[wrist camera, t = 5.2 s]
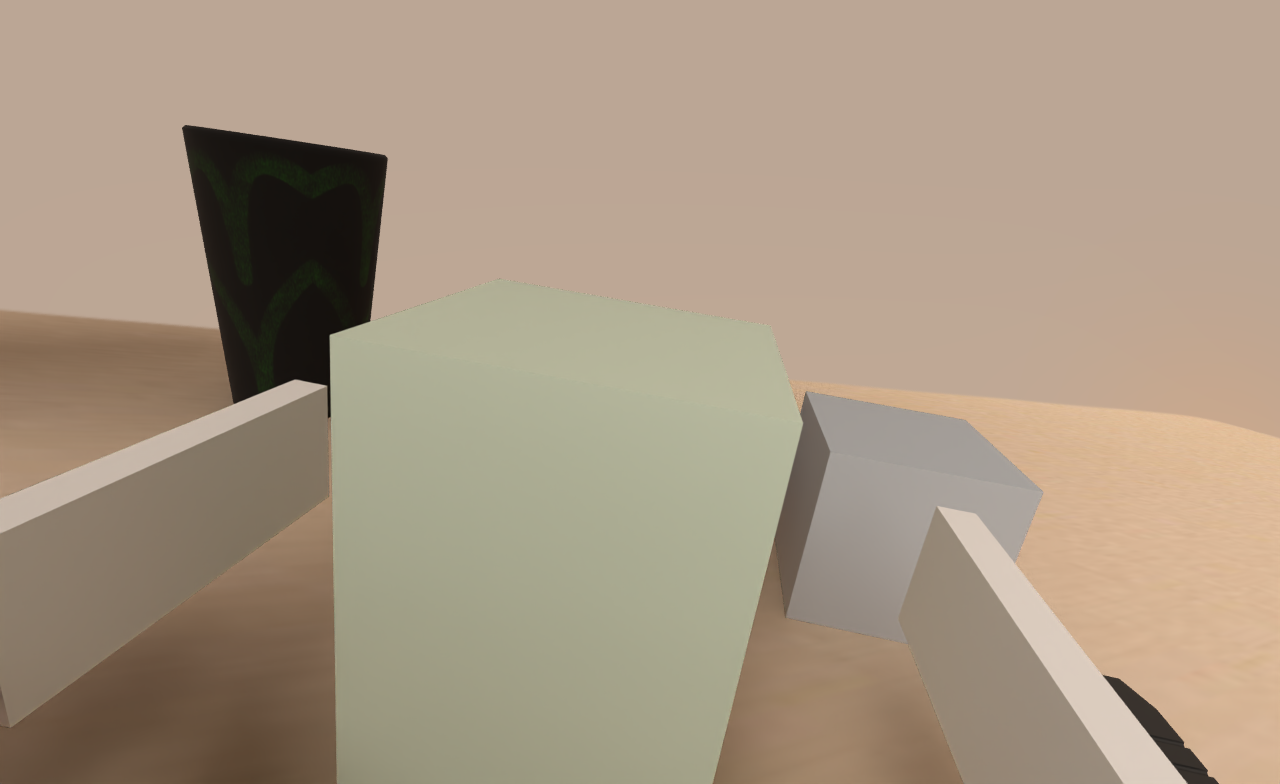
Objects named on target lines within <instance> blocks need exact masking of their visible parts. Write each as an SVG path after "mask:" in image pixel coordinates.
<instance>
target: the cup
mask: <svg viewBox="0 0 1280 784" xmlns="http://www.w3.org/2000/svg"><path fill="white" fill-rule="evenodd" d="M182 130H183V135H184V141H185V146H186V151H187V156H188V162H189V168H190V173H191V178H192V183H193V189H194V193H195V200H196V205H197V210H198V216H199V221H200V226H201V232H202V236H203V242H204V248H205V253H206V258H207V264H208V269H209V274H210V280H211V285H212V290H213V295H214V301H215V306H216V312H217V317H218V322H219V328H220V333H221V338H222V344H223V349H224V354H225V360H226V365H227V370H228V376H229V381H230V386H231V392H232V397H233V402H234V404H236V403H238V402H241V401H243V400H246V399H248V398H251V397H253V396H256V395H258V394H260V393H263V392H265V391H268V390H270V389H273V388H275V387H278V386H280V385H283V384H285V383H288V382H290V381H293V380H300V381H305V382H310V383H315V384H320V385H325V386H327V406H328V417H331V384H330V335H332V334H335V333H338V332H341V331H344V330H347V329H350V328H353V327H356V326H359V325H362V324H365V323H368V322H370V318H371V309H372V299H373V291H374V280H375V272H376V263H377V253H378V244H379V235H380V225H381V216H382V207H383V197H384V188H385V178H386V169H387V157H386V156H385V155H381V154H375V153H369V152H362V151H357V150H350V149H344V148H337V147H331V146H325V145H318V144H311V143H305V142H299V141H292V140H286V139H278V138H272V137H266V136H259V135H252V134H245V133H239V132H232V131H225V130H217V129H210V128H204V127H196V126H189V125H185V126H184V127H183V128H182Z"/></svg>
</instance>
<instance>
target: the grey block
mask: <svg viewBox="0 0 1280 784" xmlns="http://www.w3.org/2000/svg"><path fill="white" fill-rule="evenodd" d="M800 415H801V418H802V421H803V426H802V430H801V434H800V438H799V442H798V446H797V450H796V454H795V458H794V462H793V466H792V470H791V474H790V478H789V482H788V486H787V490H786V494H785V498H784V502H783V506H782V510H781V514H780V518H779V522H778V526H777V530H776V534H775V543H776V550H777V558H778V565H779V572H780V580H781V587H782V594H783V602H784V609H785V616H786V618H789V619H794V620H799V621H803V622H808V623H813V624H817V625H822V626H827V627H831V628H836V629H841V630H845V631H850V632H854V633H859V634H864V635H868V636H873V637H878V638H882V639H887V640H892V641H896V642H901V643H906V644H908V643H907V640H906V638H905V635H904V633H903V630H902V628H901V625H900V623H899V620H898V617H899V614H900V611H901V608H902V605H903V602H904V599H905V596H906V594H907V591H908V588H909V585H910V582H911V579H912V576H913V573H914V570H915V567H916V564H917V562H918V559H919V556H920V553H921V550H922V547H923V544H924V541H925V538H926V535H927V532H928V530H929V527H930V524H931V521H932V518H933V515H934V512H935V509H936V506H940V507H945V508H950V509H955V510H960V511H965V512H970V513H975V514H977V516H978V517H979V518H980V519H981V521H982V522H983V523H984V525H985V526H986V527H987V528H988V530H989V531H990V532H991V534H992V535H993V536H994V537H995V539H996V540H997V541H998V542H999V544H1000V545H1001V546H1002V548H1003V549H1004V550H1005V551H1006V553H1007V554H1008V555H1009V557H1010V558H1011V559H1012V560H1013V562H1014V563H1015V562H1016V559H1017V557H1018V554H1019V552H1020V549H1021V547H1022V544H1023V542H1024V539H1025V537H1026V534H1027V532H1028V529H1029V527H1030V525H1031V522H1032V520H1033V517H1034V515H1035V512H1036V510H1037V507H1038V505H1039V502H1040V500H1041V497H1042V495H1043V491H1042V490H1041V489H1040V488H1039V487H1038V486H1036V485H1035V484H1034V483H1033V482H1032V481H1031V480H1030V479H1029V478H1028V477H1027V476H1026V475H1025V474H1023V473H1022V472H1021V471H1020V470H1019V469H1018V468H1017V467H1016V466H1015V465H1014V464H1013V463H1011V462H1010V461H1009V460H1008V459H1007V458H1006V457H1005V456H1004V455H1003V454H1002V453H1001V452H1000V451H998V450H997V449H996V448H995V447H994V446H993V445H992V444H991V443H990V442H989V441H988V440H987V439H985V438H984V437H983V436H982V435H981V434H980V433H979V432H978V431H977V430H976V429H975V428H973V427H972V426H971V425H970V424H969V423H968V422H967V421H966V420H962V419H957V418H951V417H946V416H940V415H935V414H929V413H924V412H918V411H912V410H907V409H901V408H896V407H890V406H885V405H879V404H874V403H868V402H863V401H857V400H852V399H846V398H841V397H835V396H830V395H824V394H819V393H813V392H807V391H806V393H805V397H804V401H803V405H802V409H801V413H800Z"/></svg>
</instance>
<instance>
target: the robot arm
mask: <svg viewBox="0 0 1280 784" xmlns="http://www.w3.org/2000/svg"><path fill="white" fill-rule="evenodd" d="M327 497H329V464H328V406H327V386H325V385H320V384H315V383H310V382H305V381H300V380H293V381H290V382H288V383H285V384H283V385H280V386H278V387H275V388H273V389H270V390H268V391H265V392H263V393H260V394H258V395H256V396H253V397H251V398H248V399H246V400H243V401H241V402H238V403H236V404H233V405H231V406H228V407H226V408H223V409H221V410H218V411H216V412H213V413H211V414H208V415H206V416H204V417H201V418H199V419H196V420H194V421H191V422H189V423H186V424H184V425H181V426H179V427H176V428H174V429H171V430H169V431H166V432H164V433H161V434H159V435H156V436H154V437H152V438H149V439H147V440H144V441H142V442H139V443H137V444H134V445H132V446H129V447H127V448H124V449H122V450H119V451H117V452H114V453H112V454H109V455H107V456H104V457H102V458H100V459H97V460H95V461H92V462H90V463H87V464H85V465H82V466H80V467H77V468H75V469H72V470H70V471H67V472H65V473H62V474H60V475H57V476H55V477H52V478H50V479H47V480H45V481H42V482H40V483H37V484H35V485H32V486H30V487H28V488H25V489H22V490H20V491H17V492H15V493H12V494H10V495H8V496H5V497H3V498H0V725H1V726H4V727H8V728H11V727H13V726H14V725H15V724H17V723H18V722H20V721H21V720H22V719H24V718H25V717H26V716H28V715H29V714H31V713H32V712H33V711H35V710H36V709H37V708H39V707H40V706H42V705H43V704H44V703H46V702H47V701H48V700H50V699H51V698H53V697H54V696H55V695H57V694H58V693H59V692H61V691H62V690H64V689H65V688H66V687H68V686H69V685H70V684H72V683H73V682H75V681H76V680H77V679H79V678H80V677H81V676H83V675H84V674H86V673H87V672H88V671H90V670H91V669H92V668H94V667H95V666H97V665H98V664H99V663H101V662H102V661H103V660H105V659H106V658H108V657H109V656H110V655H112V654H113V653H114V652H116V651H117V650H119V649H120V648H121V647H123V646H124V645H125V644H127V643H128V642H130V641H131V640H132V639H134V638H135V637H136V636H138V635H139V634H140V633H142V632H143V631H145V630H146V629H147V628H149V627H150V626H151V625H153V624H154V623H156V622H157V621H158V620H160V619H161V618H162V617H164V616H165V615H167V614H168V613H169V612H171V611H172V610H173V609H175V608H176V607H178V606H179V605H180V604H182V603H183V602H184V601H186V600H187V599H189V598H190V597H191V596H193V595H194V594H195V593H197V592H198V591H200V590H201V589H202V588H204V587H205V586H206V585H208V584H209V583H211V582H212V581H213V580H215V579H216V578H217V577H219V576H220V575H222V574H223V573H224V572H226V571H227V570H228V569H230V568H231V567H233V566H234V565H235V564H237V563H238V562H239V561H241V560H242V559H244V558H245V557H246V556H248V555H249V554H250V553H252V552H253V551H255V550H256V549H257V548H259V547H260V546H261V545H263V544H264V543H266V542H267V541H268V540H270V539H271V538H272V537H274V536H275V535H277V534H278V533H279V532H281V531H282V530H283V529H285V528H286V527H288V526H289V525H290V524H292V523H293V522H294V521H296V520H297V519H299V518H300V517H301V516H303V515H304V514H305V513H307V512H308V511H310V510H311V509H312V508H314V507H315V506H316V505H318V504H319V503H321V502H322V501H323V500H325V499H326V498H327ZM898 620H899V623H900V625H901V628H902V630H903V633H904V635H905V638H906V640H907V643H908V645H909V648H910V650H911V653H912V655H913V658H914V660H915V663H916V665H917V668H918V670H919V673H920V675H921V678H922V680H923V683H924V685H925V688H926V690H927V693H928V695H929V698H930V701H931V703H932V706H933V708H934V711H935V713H936V716H937V718H938V721H939V723H940V726H941V728H942V731H943V733H944V736H945V738H946V741H947V743H948V746H949V748H950V751H951V753H952V756H953V758H954V761H955V763H956V766H957V768H958V771H959V773H960V776H961V778H962V781H963V783H964V784H1219V783H1218V782H1217V781H1216V780H1215V779H1214V778H1213V777H1209V776H1208V774H1207V771H1208V770H1207V769H1206V768H1205V767H1204V765H1203V764H1202V763H1201V762H1200V761H1199V759H1198V758H1197V757H1196V756H1195V755H1194V753H1193V752H1192V751H1191V750H1190V749H1188V748H1185V747H1184V741H1183V740H1182V739H1181V738H1180V737H1179V736H1178V734H1177V733H1176V732H1175V731H1174V730H1173V728H1172V727H1171V726H1170V725H1169V724H1168V722H1167V721H1166V720H1165V719H1164V718H1163V716H1162V715H1161V714H1160V713H1159V712H1158V710H1157V709H1156V708H1154V707H1153V706H1152V705H1151V704H1149V703H1148V702H1147V701H1146V700H1145V699H1143V698H1142V697H1141V696H1140V695H1138V694H1137V693H1136V692H1135V691H1133V690H1132V689H1131V688H1130V687H1129V686H1127V685H1126V684H1125V683H1124V682H1122V681H1121V680H1120V679H1118V678H1114V677H1109V676H1104V675H1102V674H1101V673H1100V671H1099V670H1098V669H1097V668H1096V666H1095V665H1094V664H1093V663H1092V661H1091V660H1090V659H1089V657H1088V656H1087V655H1086V654H1085V652H1084V651H1083V650H1082V648H1081V647H1080V646H1079V645H1078V643H1077V642H1076V641H1075V640H1074V638H1073V637H1072V636H1071V634H1070V633H1069V632H1068V631H1067V629H1066V628H1065V627H1064V625H1063V624H1062V623H1061V622H1060V620H1059V619H1058V618H1057V617H1056V615H1055V614H1054V613H1053V611H1052V610H1051V609H1050V608H1049V606H1048V605H1047V604H1046V602H1045V601H1044V600H1043V599H1042V597H1041V596H1040V595H1039V594H1038V592H1037V591H1036V590H1035V588H1034V587H1033V586H1032V585H1031V583H1030V582H1029V581H1028V579H1027V578H1026V577H1025V576H1024V574H1023V573H1022V572H1021V571H1020V569H1019V568H1018V567H1017V565H1016V564H1015V563H1014V562H1013V560H1012V559H1011V558H1010V557H1009V555H1008V554H1007V553H1006V551H1005V550H1004V549H1003V548H1002V546H1001V545H1000V544H999V542H998V541H997V540H996V539H995V537H994V536H993V535H992V534H991V532H990V531H989V530H988V528H987V527H986V526H985V525H984V523H983V522H982V521H981V519H980V518H979V517H978V516H977V514H975V513H970V512H965V511H960V510H955V509H950V508H945V507H940V506H936V509H935V512H934V515H933V518H932V521H931V524H930V527H929V530H928V532H927V535H926V538H925V541H924V544H923V547H922V550H921V553H920V556H919V559H918V562H917V564H916V567H915V570H914V573H913V576H912V579H911V582H910V585H909V588H908V591H907V594H906V596H905V599H904V602H903V605H902V608H901V611H900V614H899V617H898Z"/></svg>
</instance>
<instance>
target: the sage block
mask: <svg viewBox="0 0 1280 784" xmlns="http://www.w3.org/2000/svg"><path fill="white" fill-rule="evenodd" d="M330 384H331V447H332V509H333V572H334V634H335V697H336V759H337V784H713V780H714V776H715V772H716V768H717V764H718V760H719V756H720V752H721V749H722V745H723V741H724V737H725V733H726V729H727V725H728V721H729V717H730V713H731V709H732V705H733V701H734V697H735V693H736V689H737V685H738V681H739V677H740V673H741V669H742V665H743V661H744V657H745V653H746V649H747V645H748V641H749V637H750V633H751V629H752V625H753V621H754V617H755V613H756V609H757V605H758V601H759V597H760V593H761V589H762V585H763V581H764V577H765V573H766V569H767V565H768V561H769V557H770V554H771V550H772V546H773V542H774V538H775V534H776V530H777V526H778V522H779V518H780V514H781V510H782V506H783V502H784V498H785V494H786V490H787V486H788V482H789V478H790V474H791V470H792V466H793V462H794V458H795V454H796V450H797V446H798V442H799V438H800V434H801V430H802V426H803V421H802V418H801V415H800V412H799V409H798V406H797V403H796V400H795V397H794V394H793V391H792V388H791V385H790V382H789V379H788V376H787V374H786V370H785V367H784V365H783V361H782V359H781V356H780V353H779V350H778V347H777V344H776V341H775V338H774V335H773V332H772V329H771V326H769V325H764V324H758V323H752V322H746V321H741V320H735V319H728V318H723V317H717V316H712V315H706V314H699V313H694V312H688V311H683V310H677V309H671V308H665V307H660V306H654V305H647V304H642V303H636V302H631V301H625V300H619V299H613V298H608V297H602V296H596V295H590V294H584V293H579V292H573V291H567V290H561V289H555V288H550V287H544V286H538V285H532V284H527V283H520V282H515V281H509V280H503V279H497V280H494V281H491V282H488V283H485V284H482V285H479V286H476V287H473V288H470V289H467V290H464V291H461V292H458V293H455V294H452V295H449V296H446V297H443V298H440V299H437V300H434V301H431V302H428V303H425V304H422V305H419V306H416V307H413V308H410V309H407V310H404V311H401V312H398V313H395V314H392V315H389V316H386V317H383V318H380V319H377V320H374V321H371V322H368V323H365V324H362V325H359V326H356V327H353V328H350V329H347V330H344V331H341V332H338V333H335V334H332V335H330Z"/></svg>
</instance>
